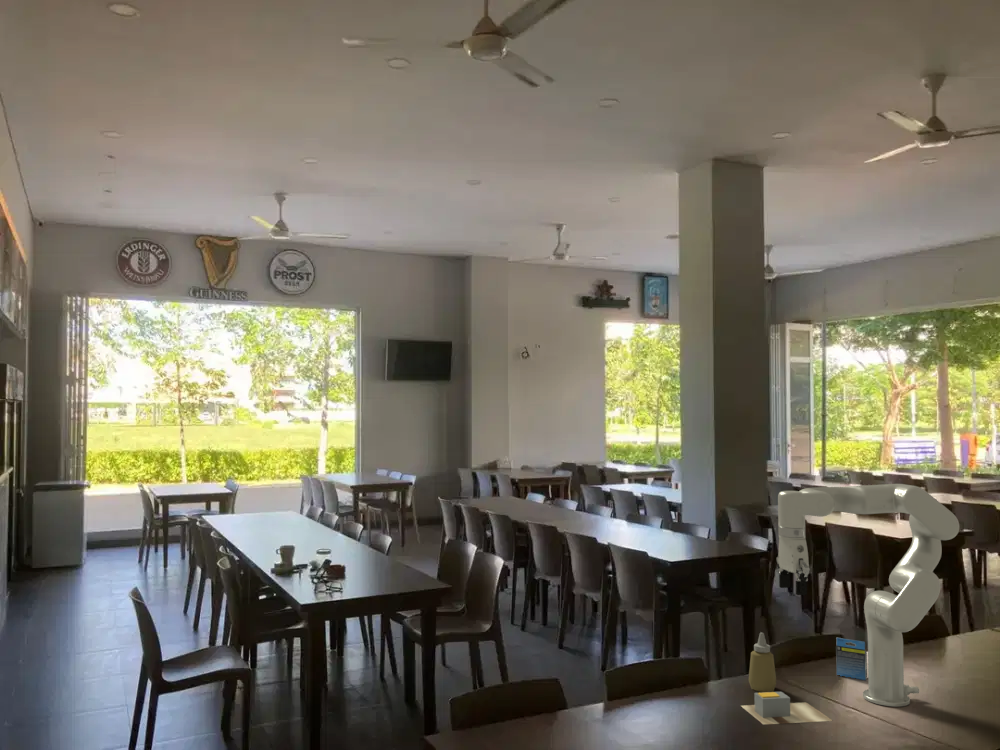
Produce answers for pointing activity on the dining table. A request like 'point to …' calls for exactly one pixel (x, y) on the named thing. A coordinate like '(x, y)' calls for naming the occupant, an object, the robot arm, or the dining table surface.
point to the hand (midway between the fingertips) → (792, 591)
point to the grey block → (772, 704)
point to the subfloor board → (791, 714)
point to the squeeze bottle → (762, 667)
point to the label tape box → (851, 659)
